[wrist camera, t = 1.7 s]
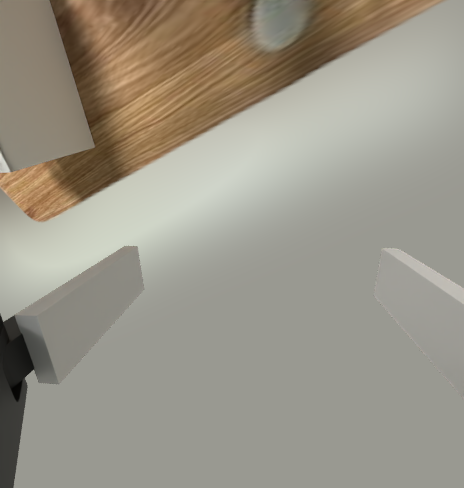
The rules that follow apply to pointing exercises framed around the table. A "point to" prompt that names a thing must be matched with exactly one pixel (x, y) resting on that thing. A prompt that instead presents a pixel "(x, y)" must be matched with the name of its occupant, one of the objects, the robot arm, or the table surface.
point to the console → (36, 89)
